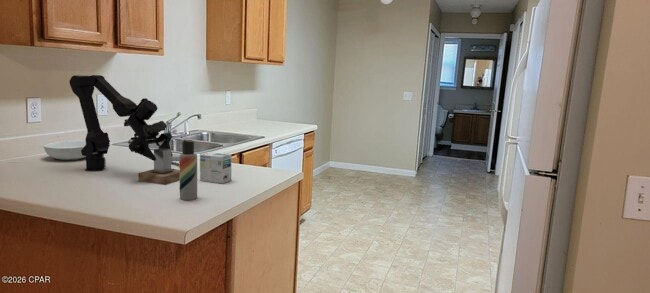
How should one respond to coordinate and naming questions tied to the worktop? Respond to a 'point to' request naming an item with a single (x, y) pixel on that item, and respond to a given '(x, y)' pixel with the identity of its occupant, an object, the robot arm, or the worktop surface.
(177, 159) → the grey metal cylinder
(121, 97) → the robot arm
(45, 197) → the worktop surface
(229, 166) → the light bulb box
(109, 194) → the worktop surface
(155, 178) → the wooden square hole board
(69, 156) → the serving bowl
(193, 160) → the lotion bottle
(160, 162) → the steel peg
